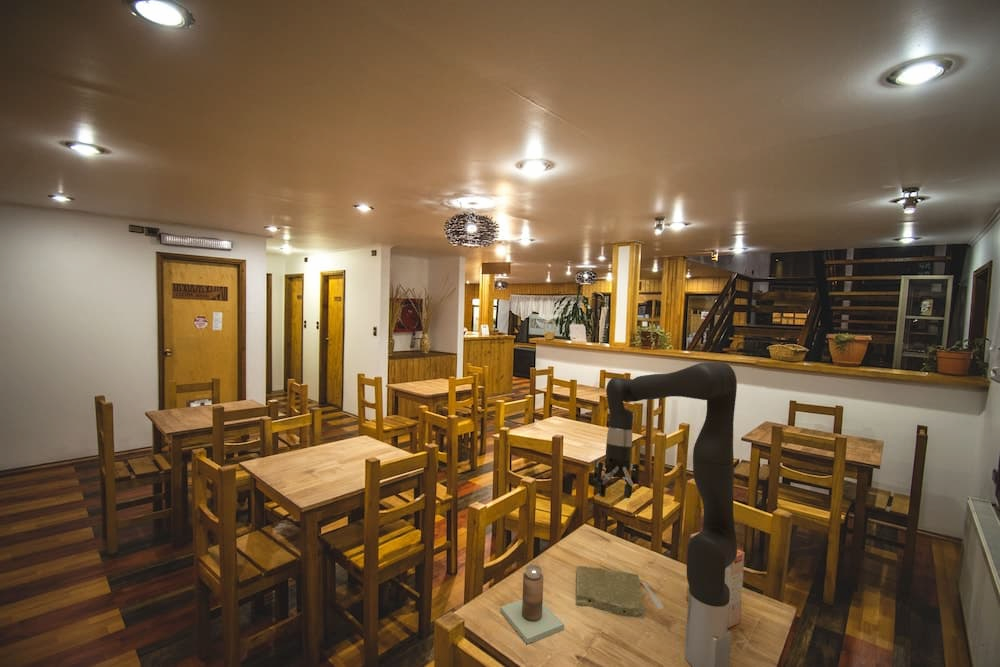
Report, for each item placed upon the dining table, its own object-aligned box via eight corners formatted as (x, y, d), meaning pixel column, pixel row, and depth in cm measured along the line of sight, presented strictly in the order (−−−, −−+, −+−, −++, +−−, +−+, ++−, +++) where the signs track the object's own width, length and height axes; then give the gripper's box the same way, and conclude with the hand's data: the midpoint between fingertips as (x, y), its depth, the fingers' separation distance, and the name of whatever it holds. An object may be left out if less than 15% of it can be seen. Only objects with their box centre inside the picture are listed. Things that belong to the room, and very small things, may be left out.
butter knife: (655, 609, 131) (665, 608, 132) (622, 558, 158) (630, 558, 158) (655, 610, 131) (665, 610, 132) (622, 560, 158) (630, 559, 159)
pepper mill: (545, 617, 124) (547, 571, 123) (528, 623, 121) (530, 577, 121) (534, 606, 129) (536, 561, 128) (518, 611, 126) (519, 566, 126)
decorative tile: (576, 572, 149) (576, 562, 149) (638, 582, 145) (639, 571, 145) (573, 609, 131) (574, 597, 131) (645, 621, 127) (646, 609, 127)
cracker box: (741, 623, 127) (746, 552, 126) (727, 629, 124) (732, 557, 123) (699, 594, 139) (703, 529, 138) (685, 599, 136) (689, 533, 135)
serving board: (563, 629, 122) (564, 624, 122) (527, 644, 116) (527, 639, 116) (534, 599, 134) (535, 594, 134) (500, 611, 128) (500, 606, 128)
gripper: (604, 443, 132) (599, 500, 130) (646, 446, 136) (642, 501, 134) (592, 439, 139) (587, 493, 137) (632, 442, 143) (628, 494, 141)
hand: (614, 497), depth 136 cm, fingers open, 8 cm apart
